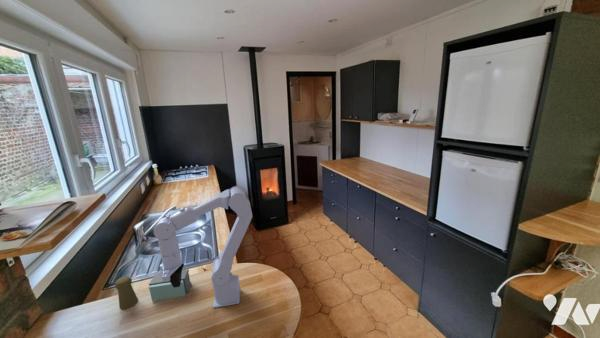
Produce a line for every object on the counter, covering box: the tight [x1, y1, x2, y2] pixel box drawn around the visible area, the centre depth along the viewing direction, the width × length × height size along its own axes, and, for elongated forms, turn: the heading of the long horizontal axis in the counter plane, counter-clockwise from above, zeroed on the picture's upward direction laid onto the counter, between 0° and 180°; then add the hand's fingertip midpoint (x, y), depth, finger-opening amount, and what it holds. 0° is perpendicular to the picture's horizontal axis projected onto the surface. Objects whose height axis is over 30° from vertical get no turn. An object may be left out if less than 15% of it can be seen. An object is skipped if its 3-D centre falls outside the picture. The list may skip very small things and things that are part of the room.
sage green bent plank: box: [148, 280, 187, 302], centre depth 96 cm, size 12×1×6 cm, turn 99°
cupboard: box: [148, 268, 192, 295], centre depth 100 cm, size 13×6×7 cm, turn 100°
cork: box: [114, 276, 139, 311], centre depth 94 cm, size 6×6×11 cm
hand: (177, 285), depth 88 cm, fingers closed
